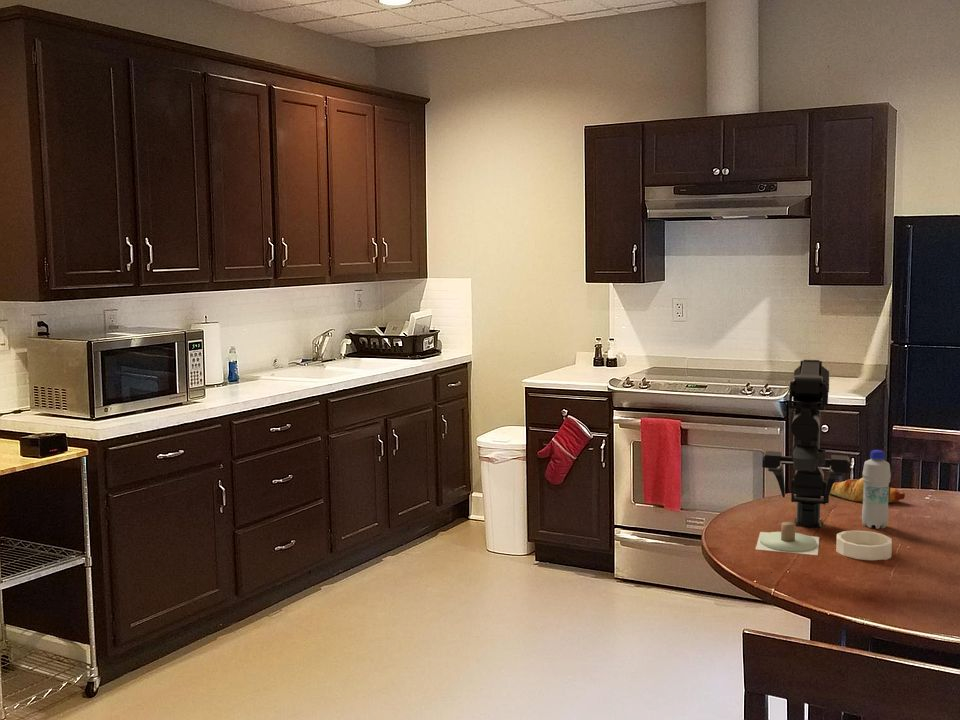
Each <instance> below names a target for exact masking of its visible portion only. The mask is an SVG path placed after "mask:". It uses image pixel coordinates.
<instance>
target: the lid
mask: <svg viewBox="0 0 960 720" xmlns="http://www.w3.org/2000/svg"><path fill="white" fill-rule="evenodd" d="M780 527H781V529H780V530H781V531H771V532H768V533H766V534H763V535H762V536H761V537H760V543H761V544H762V545H764V546H766V547H768V548H771V549H775V550H779V551H788V552H802V551H808V550H812V549H814V548H815V547H816V540H815V539H814V538H812V537H810V536H811V535H806V534H803V533H800V532H799V533H798V532H796V526H795V522H792V521H782V522H781V526H780Z"/></svg>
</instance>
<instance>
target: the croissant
mask: <svg viewBox="0 0 960 720" xmlns="http://www.w3.org/2000/svg"><path fill="white" fill-rule="evenodd" d="M862 478H863V477H861V478H859V479H856V478H855V479H854V478H853V479H846V480H845V481H837V482H836V481H835V482H834V484H833V486H832V488H831V491H830V494H831V495H833V496H836V497H838V498H842V499H844V500H849V501H851V502H860V503H863V490H864V481H863V479H862ZM905 496H906V493H905V492H903V491H898V490H897V489H896V488H893V487H889V493H888V504H889V503H890V504H891V503H896V502H899V501H900V500H904V499H905V498H906V497H905Z"/></svg>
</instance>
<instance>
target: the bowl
mask: <svg viewBox="0 0 960 720" xmlns="http://www.w3.org/2000/svg"><path fill="white" fill-rule="evenodd" d="M892 540H893V539H892V538H891V537H889V536H887V535H885V534H883V533H879V532H874V531H871V530H870V531H869V530H855V529H853V530H844V531H840V532H838V533H836V540H835V541H836V546H835V548H836V549H835V551H836V553H838V554H840V555H842V556H843V557H847V558H851V559H855V560H862V561H863V560H864V561H878V560H879V561H882V560H884V561H886V560H889V559H891V558H892V552H893V550H892V548H893V547H892V546H893V541H892Z"/></svg>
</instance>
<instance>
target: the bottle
mask: <svg viewBox="0 0 960 720" xmlns="http://www.w3.org/2000/svg"><path fill="white" fill-rule="evenodd" d="M885 454H886V453H885V451H884V450H881V449H873V450H871V451H870V454H869V455H870V456H869V457H870V458H869V459H867V460H865V461H864V464H863V468H862V469H863V470H862V473H861V474H862V475H861V476H862V477H861V478H862V479H863V481H864V490H863V502H862V508H861V509H862V510H861V522H862V525H863V526H864V527H868V528H869V529H871V528H873V526H875V529H878V530H879V529H882V530H883V529H884V530H885V528H886V527H887V525H888V522H889V503H888V493H889V488H890V486H889V485H890V483H891V477H892V475H891V466H890V463H889V462H888V461H886V460H885V458H886V455H885Z"/></svg>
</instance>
